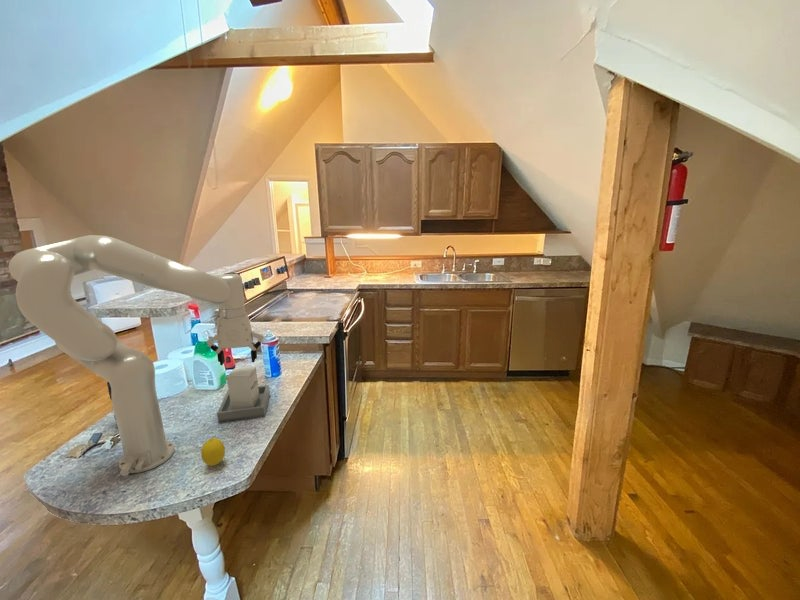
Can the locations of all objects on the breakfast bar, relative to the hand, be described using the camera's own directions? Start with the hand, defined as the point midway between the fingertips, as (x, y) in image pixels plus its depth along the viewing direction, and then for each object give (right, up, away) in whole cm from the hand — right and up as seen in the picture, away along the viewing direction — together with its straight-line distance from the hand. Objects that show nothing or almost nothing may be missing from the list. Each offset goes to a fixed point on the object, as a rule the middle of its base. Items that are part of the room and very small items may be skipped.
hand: (238, 362), depth 119 cm
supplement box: (+1, -16, +4) cm, 16 cm away
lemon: (+4, -24, -23) cm, 34 cm away
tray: (+1, -16, +5) cm, 17 cm away
